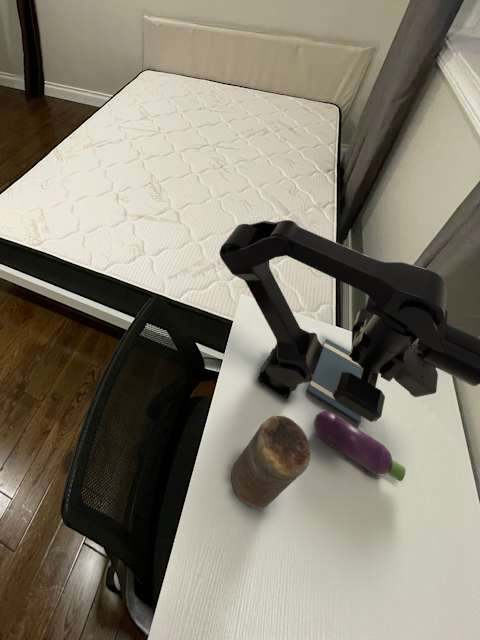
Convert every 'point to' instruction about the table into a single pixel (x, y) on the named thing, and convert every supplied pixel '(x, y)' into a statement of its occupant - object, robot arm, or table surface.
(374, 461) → the eggplant
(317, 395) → the towel
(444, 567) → the table surface
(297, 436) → the brown textured cylinder
